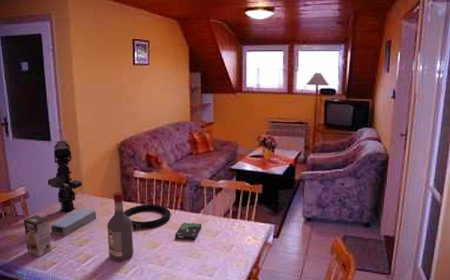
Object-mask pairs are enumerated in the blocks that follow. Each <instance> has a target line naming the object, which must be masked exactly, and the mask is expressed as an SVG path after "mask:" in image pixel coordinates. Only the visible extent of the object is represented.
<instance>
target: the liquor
mask: <svg viewBox="0 0 450 280" xmlns="http://www.w3.org/2000/svg"><path fill="white" fill-rule="evenodd" d="M123 200H124V199H123V192H121V191H120V192H119V191H117V192H114V193H113V201H114V215H113V216H112V217H111V218H110V219H109V220H108V222H107V227H106V228H107V242H108V254H109V255H108V256H109V258H110V259H112V260H113V261H115V262H116V263H120V262H121V263H122V262H125V261H126V260H129V259H131V258H133V255H134V239H133V237H134V236H133V231H132V221H133V220H132V219H131V218H130V217H129V216H128V217H127V216H126V215H125V214H124V212H125V211H124V206H123V205H124V201H123ZM131 220H132V221H131Z"/></svg>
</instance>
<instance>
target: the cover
mask: <svg viewBox="0 0 450 280" xmlns="http://www.w3.org/2000/svg"><path fill="white" fill-rule="evenodd" d="M94 212H96V211H95V210H92V209H86V208H80V209H79V210H77V211H75V212H73V213H71V214H69V215H67V216H66V217H63V218H61V219H59V220H57V221H55V222H53V223H51V224H50V227H51V226H54V227H60V228H67V227H69V226H71V225H73V224H74V223H76V222H78V221H80V220H82V219H84V218H85V217H87V216H89V215H91V214H93V213H94Z"/></svg>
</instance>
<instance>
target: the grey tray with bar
mask: <svg viewBox="0 0 450 280" xmlns="http://www.w3.org/2000/svg"><path fill="white" fill-rule="evenodd" d="M96 219H97V212H96V211H95V212H94V213H93V214H91V215H89V216H87V217H85V218H84V219H82V220H80V221H78V222H76V223H74V224H73V225H71V226H69V227H67V228H60V227H54V226H51V225H50V235H51V234H52V235H57V236H62V237H67V236H69V235H70V234H72V233H73V232H76V231H77V230H79V229H80V228H83V227H84V226H86V225H88V224H89V223H91V222H93V221H94V220H96Z"/></svg>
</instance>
